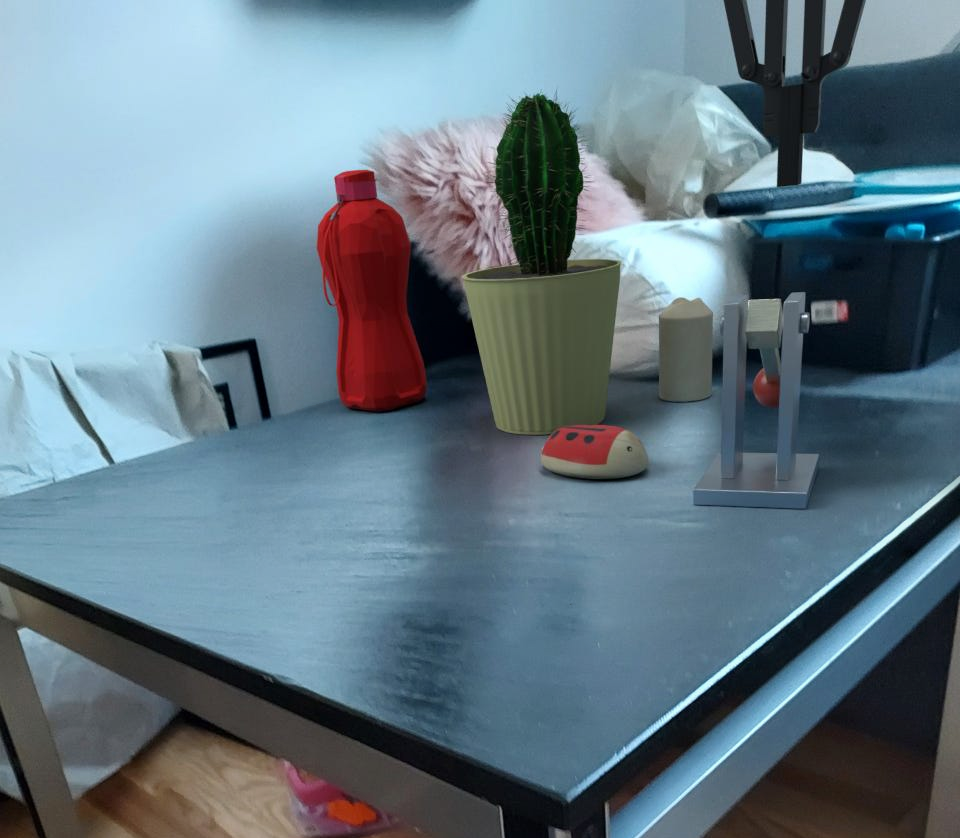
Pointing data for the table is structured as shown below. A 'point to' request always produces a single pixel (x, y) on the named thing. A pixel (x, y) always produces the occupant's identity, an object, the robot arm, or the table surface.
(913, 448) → the table surface
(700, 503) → the bracket
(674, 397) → the candle
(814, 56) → the robot arm
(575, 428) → the ladybug figurine
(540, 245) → the potted cactus
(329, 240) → the water bottle
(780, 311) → the lever
